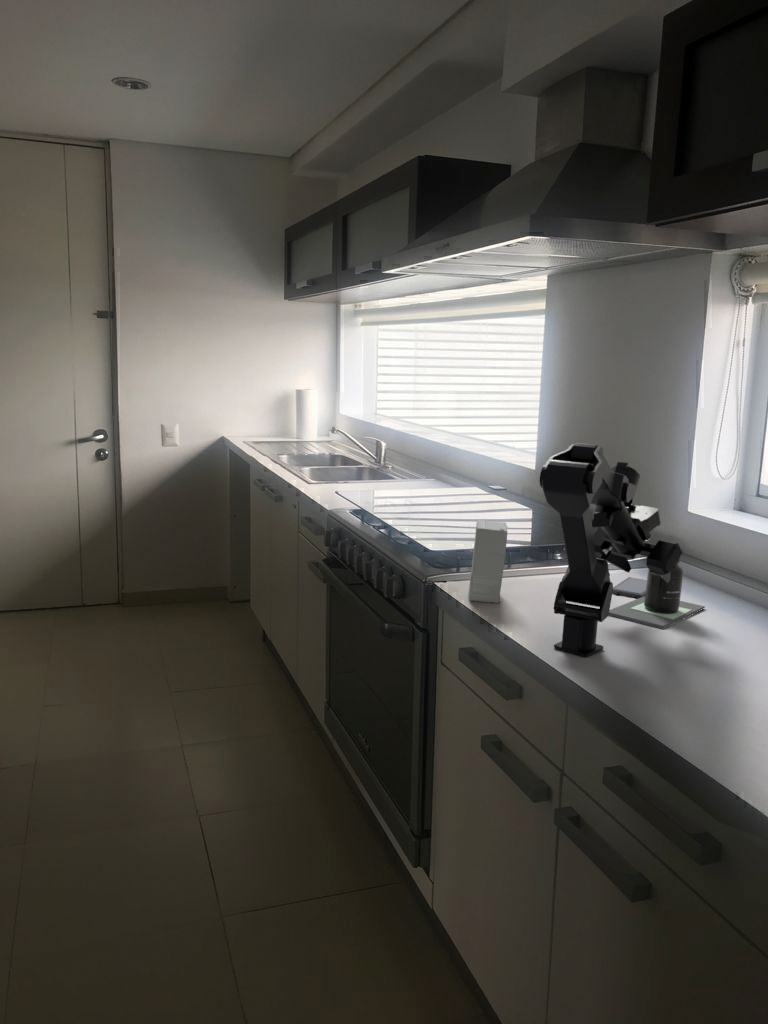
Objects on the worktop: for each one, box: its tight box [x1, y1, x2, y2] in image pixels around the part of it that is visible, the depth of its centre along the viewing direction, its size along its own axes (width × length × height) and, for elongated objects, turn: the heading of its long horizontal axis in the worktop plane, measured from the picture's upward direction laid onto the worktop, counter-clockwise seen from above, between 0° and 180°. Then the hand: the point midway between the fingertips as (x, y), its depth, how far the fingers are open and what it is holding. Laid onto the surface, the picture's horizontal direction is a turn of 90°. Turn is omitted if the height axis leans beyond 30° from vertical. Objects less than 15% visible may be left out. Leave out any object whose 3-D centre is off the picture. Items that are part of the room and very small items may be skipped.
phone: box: [613, 576, 647, 599], centre depth 192 cm, size 14×7×1 cm, turn 148°
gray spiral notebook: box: [608, 596, 706, 630], centre depth 175 cm, size 20×12×1 cm, turn 138°
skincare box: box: [468, 519, 509, 604], centre depth 179 cm, size 8×7×16 cm
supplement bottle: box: [644, 556, 684, 614], centre depth 173 cm, size 7×7×12 cm
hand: (648, 575), depth 170 cm, fingers open, 9 cm apart
